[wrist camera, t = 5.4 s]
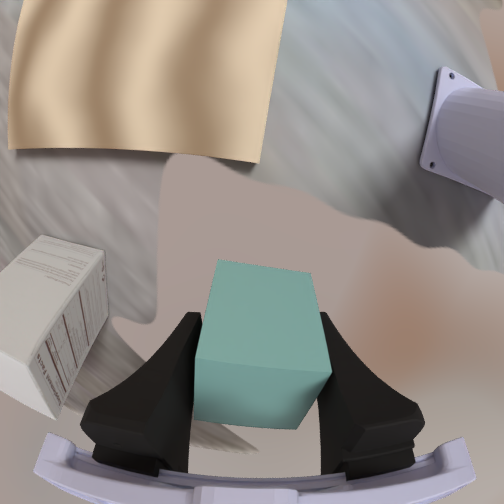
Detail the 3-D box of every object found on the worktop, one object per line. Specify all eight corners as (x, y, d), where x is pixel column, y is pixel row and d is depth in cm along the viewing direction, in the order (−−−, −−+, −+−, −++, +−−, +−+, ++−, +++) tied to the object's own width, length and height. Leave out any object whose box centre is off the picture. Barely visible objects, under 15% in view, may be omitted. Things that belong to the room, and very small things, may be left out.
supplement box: (51, 294, 25) (-12, 384, 14) (41, 231, 21) (-49, 320, 10) (111, 315, 26) (58, 424, 15) (108, 250, 22) (24, 366, 11)
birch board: (296, -53, 10) (298, -63, 9) (259, 158, 18) (259, 163, 17) (43, -27, 9) (33, -31, 8) (19, 145, 17) (8, 149, 16)
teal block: (310, 273, 14) (332, 372, 9) (289, 337, 16) (296, 429, 11) (218, 259, 14) (195, 357, 9) (210, 326, 16) (193, 419, 11)
